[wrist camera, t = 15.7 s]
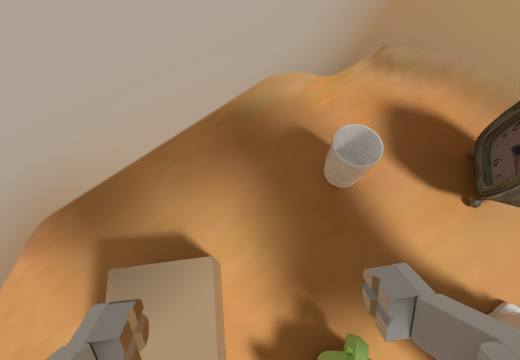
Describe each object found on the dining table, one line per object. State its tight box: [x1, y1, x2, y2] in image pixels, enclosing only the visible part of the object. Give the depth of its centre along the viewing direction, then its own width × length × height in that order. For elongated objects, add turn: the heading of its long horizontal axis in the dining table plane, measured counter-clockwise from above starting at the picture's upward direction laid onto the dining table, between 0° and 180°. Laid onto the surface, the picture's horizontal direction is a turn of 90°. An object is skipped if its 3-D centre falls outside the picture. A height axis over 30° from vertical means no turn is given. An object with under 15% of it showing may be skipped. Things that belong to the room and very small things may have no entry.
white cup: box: [323, 124, 384, 188], centre depth 47 cm, size 8×8×10 cm
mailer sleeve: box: [105, 256, 226, 360], centre depth 37 cm, size 18×14×8 cm
